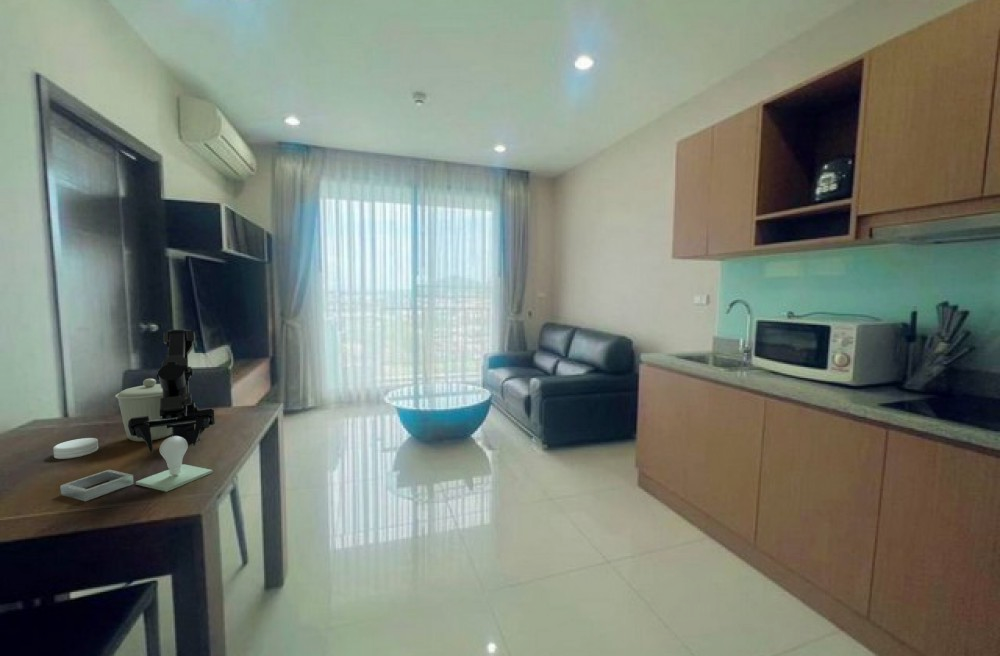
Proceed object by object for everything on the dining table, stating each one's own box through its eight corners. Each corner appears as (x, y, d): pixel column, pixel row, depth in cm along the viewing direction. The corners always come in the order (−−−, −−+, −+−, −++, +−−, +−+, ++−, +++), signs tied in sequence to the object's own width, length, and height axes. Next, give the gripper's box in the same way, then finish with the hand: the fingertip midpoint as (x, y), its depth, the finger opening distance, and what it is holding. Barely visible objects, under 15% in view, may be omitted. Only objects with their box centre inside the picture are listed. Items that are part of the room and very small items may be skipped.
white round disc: (55, 453, 130) (54, 442, 130) (98, 445, 137) (98, 435, 137) (52, 462, 123) (51, 451, 123) (98, 453, 130) (97, 442, 130)
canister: (174, 442, 140) (171, 381, 138) (107, 449, 133) (102, 385, 132) (192, 426, 157) (189, 372, 155) (132, 431, 150) (129, 375, 148)
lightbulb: (161, 482, 108) (159, 442, 107) (160, 474, 113) (158, 436, 112) (190, 475, 112) (188, 437, 111) (187, 468, 117) (186, 431, 116)
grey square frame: (61, 494, 103) (60, 485, 102) (109, 478, 112) (109, 469, 112) (85, 501, 99) (84, 491, 99) (133, 483, 109) (132, 474, 109)
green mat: (135, 484, 109) (135, 481, 108) (183, 466, 120) (183, 464, 120) (166, 491, 105) (166, 488, 105) (212, 472, 116) (212, 470, 116)
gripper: (126, 388, 108) (121, 441, 100) (212, 380, 119) (213, 427, 111) (133, 410, 115) (129, 461, 107) (214, 401, 126) (215, 446, 118)
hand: (173, 448), depth 110 cm, fingers open, 9 cm apart
